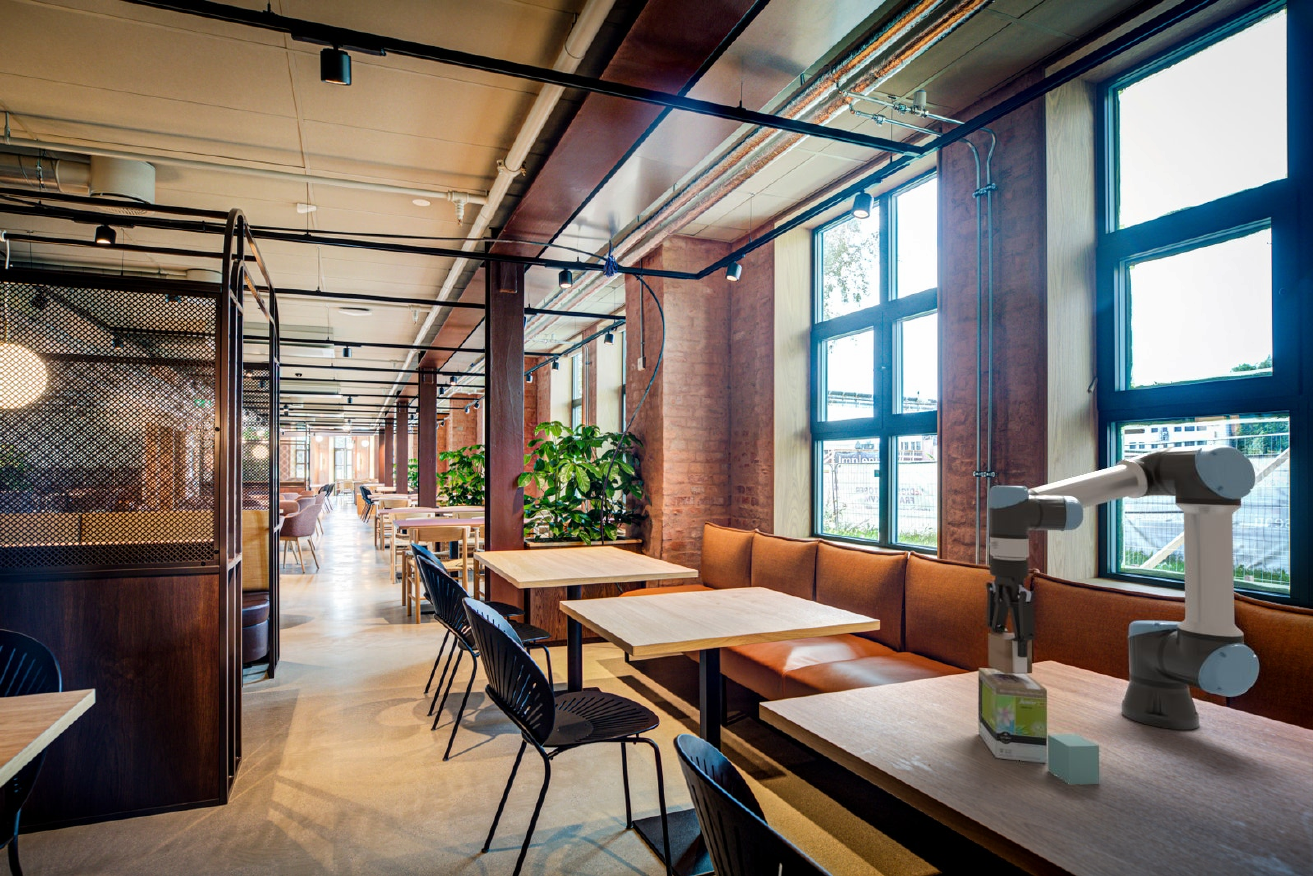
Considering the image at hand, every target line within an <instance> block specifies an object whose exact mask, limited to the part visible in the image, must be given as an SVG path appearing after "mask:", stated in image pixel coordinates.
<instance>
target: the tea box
mask: <svg viewBox="0 0 1313 876" xmlns="http://www.w3.org/2000/svg"><path fill="white" fill-rule="evenodd" d="M977 676H978V678H977V679H978V683H977V684H978V694H977V696H978V700H977V701H978V704H977V705H978V708H977V709H978V710H977V712H978V717H977V718H978V720H977V721H978V722H977V725H978V726H977V727H978V729H977V730H978V732H977V733H978V734H979V735H980V737H981V738H982V740H983V741H984V742H985V744H986V746H987V747H988V749H989V750H990V751H991V752H992V754H993V755H994V757H995V758H997V759H1004V760H1011V761H1019V760H1020V761H1021V762H1031V763H1046V764H1047V762H1048V710H1047V709H1048V690H1047V688H1045V686H1043V685H1042V684H1041V683H1039V682H1038V680H1036V679H1035V678H1033V677H1032V675H1030V674H1029V673H1022V674H1005V673H1002V672H1000V671H998V670H996V669H994V668H990V667H988V668H986V667H978V675H977Z"/></svg>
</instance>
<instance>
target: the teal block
mask: <svg viewBox="0 0 1313 876" xmlns="http://www.w3.org/2000/svg"><path fill="white" fill-rule="evenodd" d="M1047 770H1049V771H1050V772H1051V773H1050V772H1049V773H1050V774H1052V773H1053V774H1055V775H1057V776H1058V777H1059V778H1058V777H1057V778H1058V779H1060V778H1062V779H1063V780H1064V781H1066V782H1065V783H1066V784H1067V783H1069V784H1071V785H1070V786H1073V784H1080V785H1096V784H1095V783H1100V777H1101V776H1100V745H1098V743H1097V744H1096V743H1095V742H1093V741H1091V740H1089V739H1087V738H1084V737H1083V736H1081V735H1079V734H1077V733H1072V734H1047ZM1053 774H1052V775H1053ZM1055 775H1054V776H1055ZM1063 780H1062V781H1063ZM1064 781H1063V782H1064ZM1093 783H1094V784H1093ZM1069 784H1068V785H1069Z"/></svg>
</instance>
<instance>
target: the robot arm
mask: <svg viewBox="0 0 1313 876" xmlns="http://www.w3.org/2000/svg"><path fill="white" fill-rule="evenodd" d="M1255 484H1256V472H1255V468H1254V466H1253V464H1252V462H1251V460H1250V459H1249V457H1248V456H1247V455H1245V454H1244V453H1243V452H1242V451H1241V450H1240V449H1238V448H1237V447H1233V446H1232V445H1231V446H1230V445H1227V444H1226V445H1224V444H1219V445H1218V444H1204V445H1203V444H1202V445H1190V446H1189V445H1188V446H1185V445H1184V446H1168V447H1163V448H1159V449H1155V450H1153V451H1152V450H1151V451H1148V452H1145V453H1142V454H1138V455H1135V456H1132V457H1129V458H1125V459H1122V460H1119V461H1118V462H1117V463H1116V464H1115V465H1114V466H1112V467H1108V468H1104V469H1101V470H1096V471H1092V472H1089V473H1085V474H1081V475H1078V476H1074V477H1069V478H1066V479H1062V480H1058V481H1055V482H1050V483H1047V484H1044V485H1040V486H1037V487H1036V486H1035V487H1032V488H1028V487H1027V486H1025V485H1023V486H1022V485H994V486H992V487H991V488H990V489H989V495H988V498H989V499H988V505H987V512H988V518H989V521H988V522H989V528H988V529H989V543H988V545H989V555H990V556H992V557H990V558H989V574H990V575H991V576H993V577H994V578H995V579H994V581H991V582H990V581H988V582H986V583H985V587H986V592H987V594H986V595H987V597H986V598H987V600H986V627H987V628H990V629H991V631H992V632H991V633H1009V630H1008V629H1007V628H1006V626H1007V620H1008V616H1009V613H1010V618H1011V619H1010V620H1011V624H1012V629H1013V633H1014V635H1015V638H1012V652H1013V672H1014V673H1027V655H1028V652H1027V643H1028V641H1029V640H1032V641H1034V640H1036V631H1035V630H1036V629H1035V628H1036V627H1035V615H1034V614H1035V613H1034V612H1035V611H1034V609H1035V608H1034V601H1035V596H1036V595H1035V592H1034V591H1033V590H1028V589H1026V585H1025V581H1024V580H1025V579H1027V578H1029V577H1030V562H1029V561H1028V558H1029V557H1030V545H1029V544H1030V543H1029V540H1030V539H1029V537H1030V536H1029V535H1030V534H1029V533H1030V531H1061V532H1065V531H1073V530H1076V529H1078V528H1079V527H1080V526H1081V525H1082V523H1083V520H1084V509H1086V508H1089V507H1093V506H1097V505H1102V504H1104V503H1107V502H1110V501H1115V500H1120V499H1123V498H1126V497H1128V498H1130V499H1139V498H1143V497H1150V496H1151V497H1152V496H1154V497H1155V496H1166V497H1167V496H1169V497H1175V502H1174V503H1175V506H1176V507H1178V508H1179V509H1180V510H1181V511H1182V512H1183V538H1184V539H1183V540H1184V542H1183V544H1184V548H1183V549H1184V603H1185V604H1184V605H1185V607H1184V608H1185V609H1184V610H1185V618H1184V620H1182V621H1170V620H1133V621H1132V622H1131V623H1130V624H1129V626H1128V635H1127V645H1128V648H1127V649H1128V669H1129V680H1128V681H1129V683H1128V685H1127V689H1126V691H1125V694H1124V698H1123V700H1122V702H1121V714H1122V715H1123V716H1124V717H1126V718H1127V719H1130V720H1132V721H1135V722H1138V723H1141V724H1145V725H1149V726H1153V727H1159V728H1163V729H1169V730H1171V729H1172V730H1194V729H1198V728H1199V727H1200V715H1199V713H1198V711H1197V709H1196V705H1195V702H1194V700H1193V697H1192V694H1191V692H1190V687H1193V688H1196V689H1200V690H1202V691H1205V692H1207V693H1210V694H1211V695H1212V694H1216V695H1219V696H1222V697H1230V698H1231V697H1233V698H1234V697H1237V696H1241V695H1242V694H1245V693H1246V692H1247V691H1248V690H1249V689H1250V688H1251V687H1253V686H1254V684H1255V683H1256V681H1257V680H1258V676H1259V672H1260V663H1259V658H1258V655H1256V654H1255V651H1254V650H1252V648H1250V647H1248V646H1247V645H1246V644H1245V642H1244V641H1245V637H1244V635H1245V634H1244V632H1243V631H1242V630H1241V629H1240V628H1238V627H1237V625H1236V624H1235V590H1234V589H1235V588H1234V587H1235V585H1234V584H1235V582H1234V581H1235V579H1234V535H1233V533H1234V532H1233V529H1234V528H1233V527H1234V526H1233V523H1234V522H1233V515H1234V513H1235V512H1236V511H1238V510H1239V509H1240V508H1242V499H1243V498H1244V497H1247V496H1248V495H1249V494H1250V493H1251V492H1252V491H1251V490H1252V489H1254V487H1255ZM1027 674H1028V673H1027Z"/></svg>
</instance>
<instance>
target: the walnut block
mask: <svg viewBox="0 0 1313 876" xmlns="http://www.w3.org/2000/svg"><path fill="white" fill-rule="evenodd" d="M987 638H988V641H987V643H988V646H987V647H988V650H987V651H988V667H989V668H991V669H996V670H998V671H1000V672H1002V673H1005V674H1022V673H1014V672H1013V652H1012V638H1015V635H1014V632H1003V633H993V632H988V634H987ZM1027 652H1028V655H1027V674H1033V640H1029V641H1028V643H1027Z"/></svg>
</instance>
